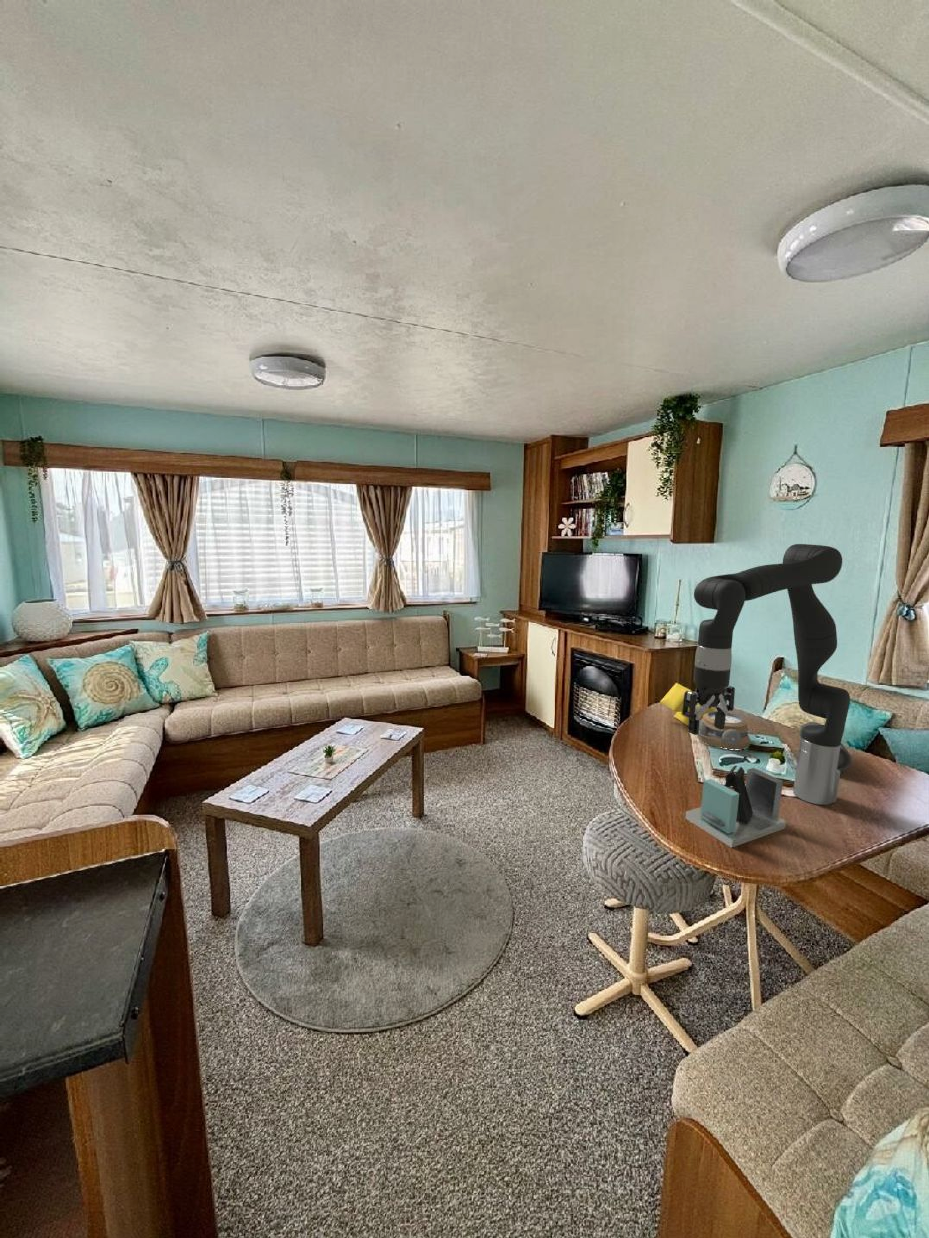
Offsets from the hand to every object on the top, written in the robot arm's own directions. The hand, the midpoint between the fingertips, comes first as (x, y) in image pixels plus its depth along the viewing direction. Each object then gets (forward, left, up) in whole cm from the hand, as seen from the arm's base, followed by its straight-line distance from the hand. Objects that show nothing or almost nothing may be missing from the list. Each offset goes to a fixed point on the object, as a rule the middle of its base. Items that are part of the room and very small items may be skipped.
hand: (706, 730), depth 117 cm
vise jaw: (-6, -2, -26) cm, 26 cm away
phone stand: (-12, -8, -26) cm, 30 cm away
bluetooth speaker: (-61, -47, -28) cm, 82 cm away
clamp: (-33, -79, -28) cm, 90 cm away
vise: (-14, -6, -28) cm, 32 cm away
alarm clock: (-33, -59, -28) cm, 73 cm away
